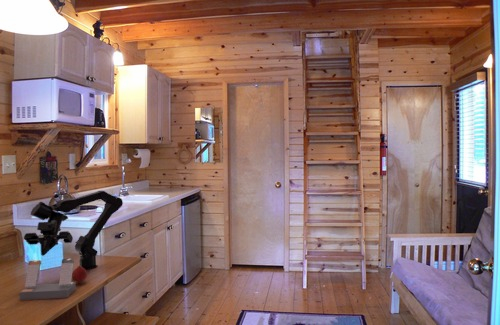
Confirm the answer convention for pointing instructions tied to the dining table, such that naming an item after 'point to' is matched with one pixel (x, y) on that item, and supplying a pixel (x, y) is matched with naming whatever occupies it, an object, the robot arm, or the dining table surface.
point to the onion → (79, 274)
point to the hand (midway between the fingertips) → (42, 255)
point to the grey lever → (66, 271)
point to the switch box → (47, 291)
